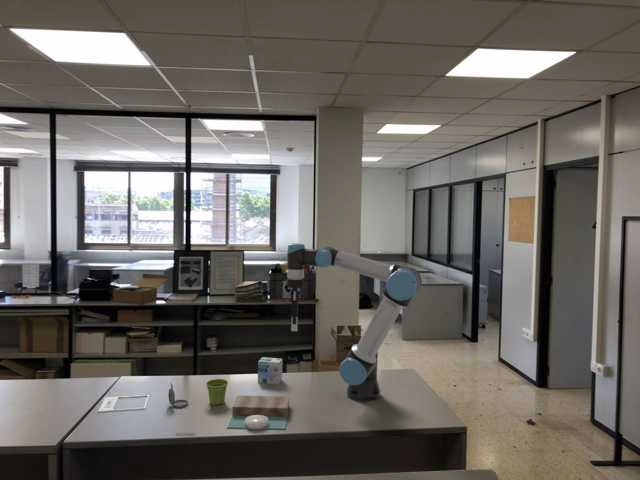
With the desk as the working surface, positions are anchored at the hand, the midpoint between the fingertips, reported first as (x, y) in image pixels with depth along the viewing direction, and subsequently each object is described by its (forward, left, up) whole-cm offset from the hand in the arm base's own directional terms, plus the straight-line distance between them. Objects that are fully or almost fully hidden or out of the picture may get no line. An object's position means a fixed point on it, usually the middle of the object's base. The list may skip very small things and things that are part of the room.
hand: (294, 330), depth 216 cm
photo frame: (+70, +14, -30) cm, 78 cm away
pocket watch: (+48, +14, -30) cm, 58 cm away
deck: (+12, +18, -29) cm, 37 cm away
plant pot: (+32, +10, -30) cm, 45 cm away
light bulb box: (+12, -17, -30) cm, 36 cm away
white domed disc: (+12, +31, -29) cm, 44 cm away
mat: (+12, +29, -29) cm, 43 cm away
